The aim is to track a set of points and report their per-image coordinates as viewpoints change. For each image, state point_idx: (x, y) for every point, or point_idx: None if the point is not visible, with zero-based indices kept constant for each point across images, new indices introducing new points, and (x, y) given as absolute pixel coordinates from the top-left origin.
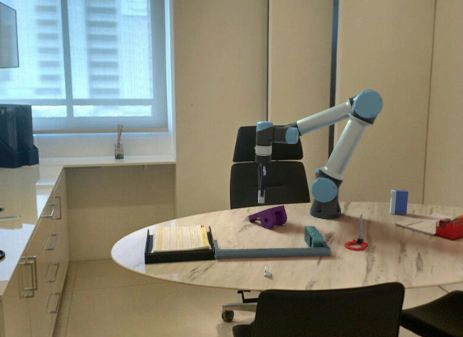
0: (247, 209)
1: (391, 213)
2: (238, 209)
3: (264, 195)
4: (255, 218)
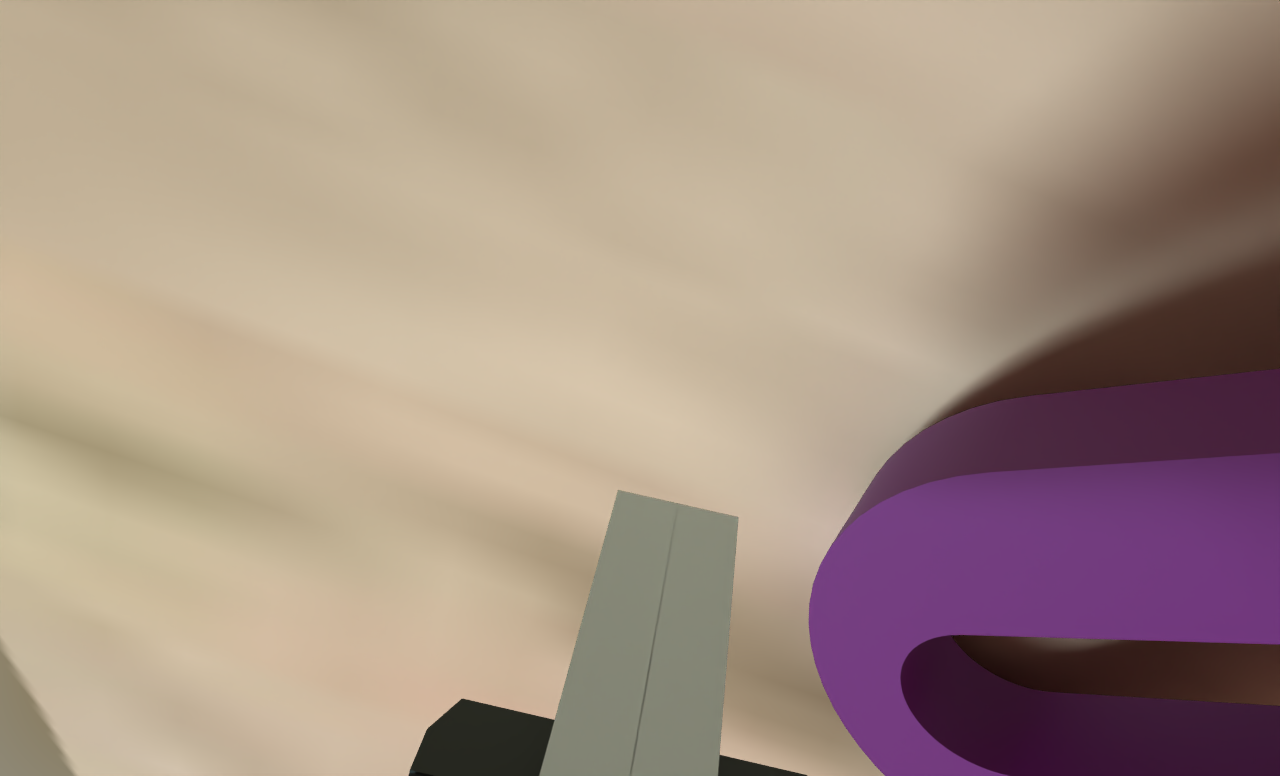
0: (30, 445)
1: None
2: (32, 622)
3: (718, 737)
4: (1103, 697)
